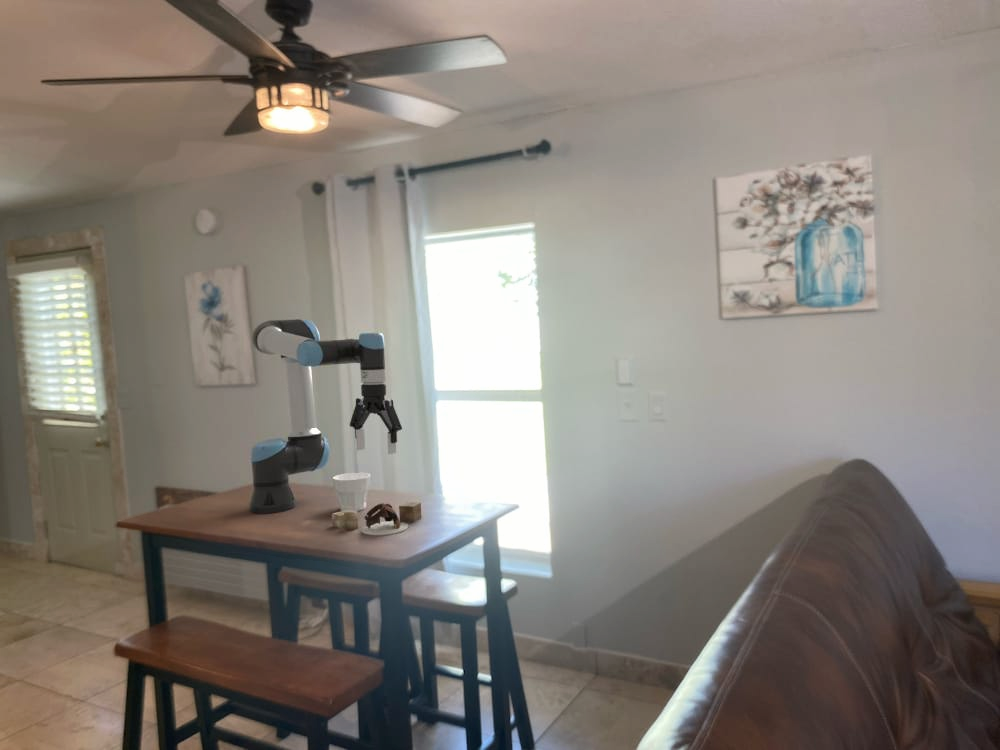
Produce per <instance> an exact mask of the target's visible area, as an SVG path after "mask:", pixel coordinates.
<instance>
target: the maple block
mask: <svg viewBox="0 0 1000 750" xmlns="http://www.w3.org/2000/svg"><path fill="white" fill-rule="evenodd" d="M346 511H351V510H345V511H342V510H340V511H338V512H334V513H332V514H331V519H332V521H331V522H332V527H335V528H337V529H342V528H345V523H344V512H346Z"/></svg>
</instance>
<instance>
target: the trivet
mask: <svg viewBox="0 0 1000 750" xmlns="http://www.w3.org/2000/svg"><path fill="white" fill-rule="evenodd" d="M399 522H400V521H399ZM408 529H409V524H408V522H400V527H399V529H397V525H396V524H395V525H394V522H393V520H392V521H387V522H386V521H380V524H378V523H376V524H374V525H371V526H370V528H368V527H367V526H366V525H364V526H363V527H361V529H360V532H361V533H362V534H363V533H364V535H368V536H379V537H380V536H391V535H395V534H396V535H397V534H400V533H402V532H405V531H407V530H408Z"/></svg>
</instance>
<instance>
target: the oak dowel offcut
mask: <svg viewBox="0 0 1000 750" xmlns="http://www.w3.org/2000/svg"><path fill="white" fill-rule="evenodd" d="M358 515H359V514H358V511H355V510H351V511H346V512H344V523H345V527H344V530H345V531H355V530H358V529H359V516H358ZM357 528H358V529H357ZM354 529H355V530H354Z"/></svg>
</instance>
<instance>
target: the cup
mask: <svg viewBox="0 0 1000 750" xmlns="http://www.w3.org/2000/svg"><path fill="white" fill-rule="evenodd" d="M332 481H333V487H334V491H335V492H336V494H337V499H338V502H339V506H340V507H339V508H340V511H345V510H355V511H357V512H359V511H363V510H365V509H366V508H367V499H368V491H369V489H370V481H371V474H370V473H368V472H348V473H341V474H338V475H335V476H333V477H332Z"/></svg>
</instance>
